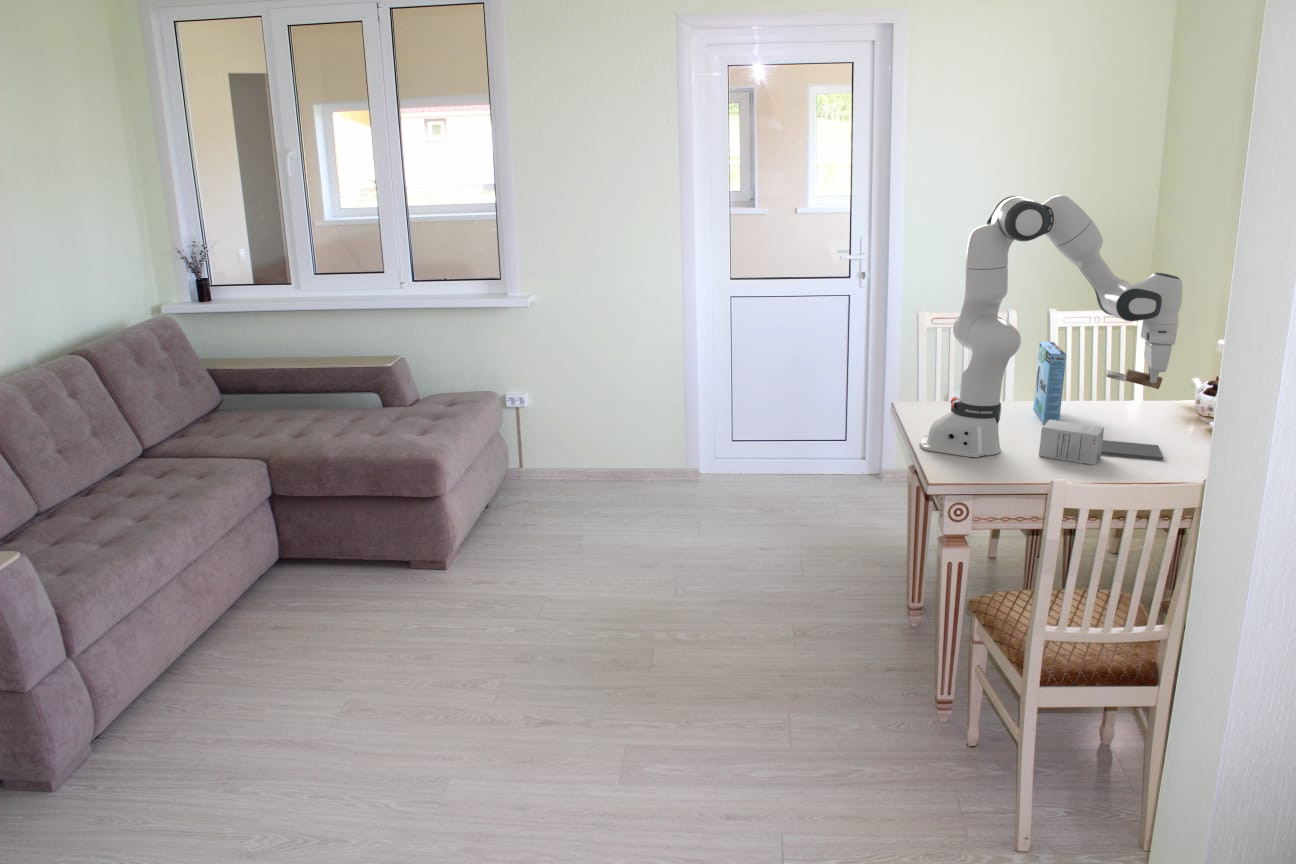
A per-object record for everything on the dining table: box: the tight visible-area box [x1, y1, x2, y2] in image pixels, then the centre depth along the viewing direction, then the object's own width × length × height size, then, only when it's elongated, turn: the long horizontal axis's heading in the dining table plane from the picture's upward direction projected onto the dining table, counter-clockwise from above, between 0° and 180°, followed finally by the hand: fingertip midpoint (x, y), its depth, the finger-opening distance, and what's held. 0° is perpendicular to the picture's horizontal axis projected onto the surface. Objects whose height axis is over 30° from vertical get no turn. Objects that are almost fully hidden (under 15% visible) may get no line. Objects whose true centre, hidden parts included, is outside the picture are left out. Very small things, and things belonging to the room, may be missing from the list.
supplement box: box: [1038, 420, 1105, 466], centre depth 279 cm, size 9×9×15 cm
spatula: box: [1105, 368, 1163, 390], centre depth 279 cm, size 14×5×3 cm, turn 70°
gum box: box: [1032, 341, 1067, 426], centre depth 317 cm, size 20×5×23 cm, turn 168°
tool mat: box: [1101, 439, 1164, 461], centre depth 286 cm, size 20×12×1 cm, turn 70°
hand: (1152, 380), depth 278 cm, fingers closed on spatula, 2 cm apart
